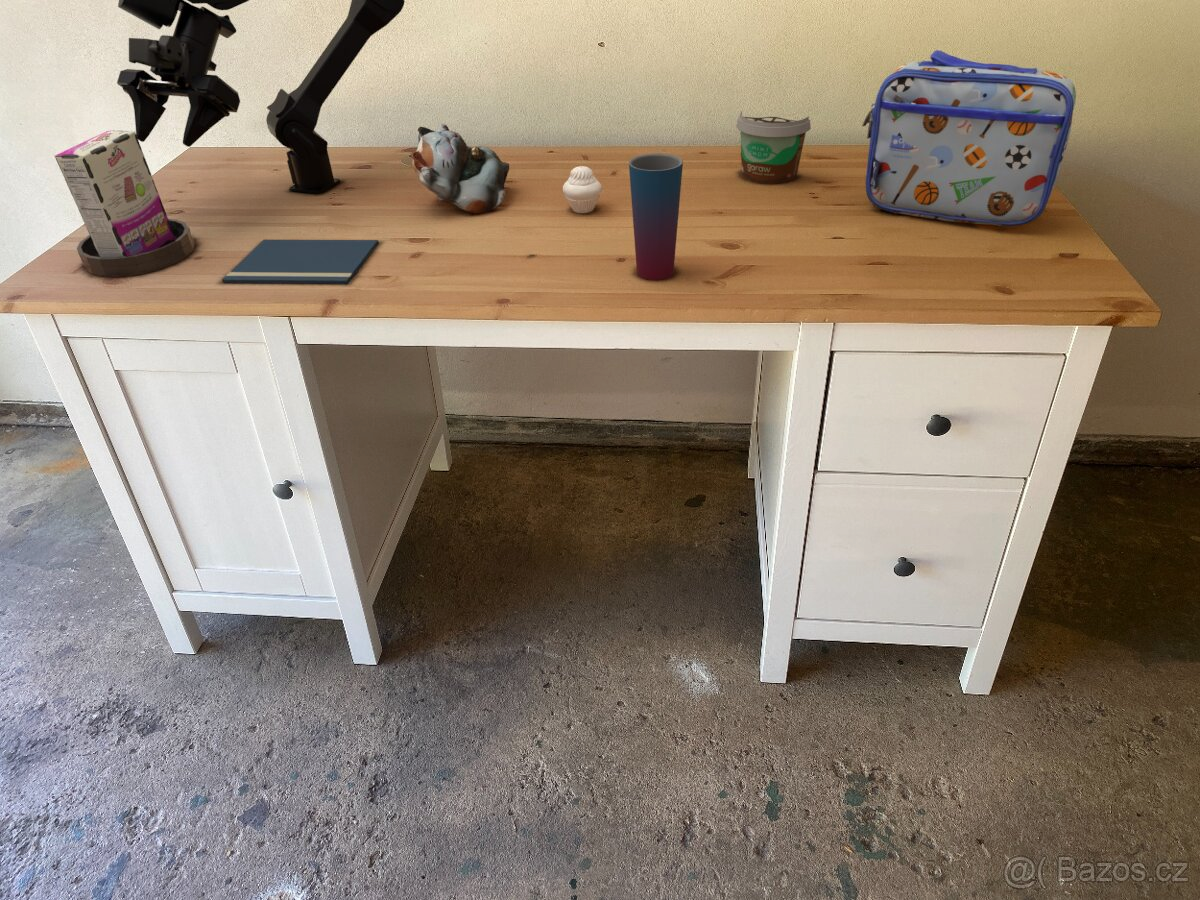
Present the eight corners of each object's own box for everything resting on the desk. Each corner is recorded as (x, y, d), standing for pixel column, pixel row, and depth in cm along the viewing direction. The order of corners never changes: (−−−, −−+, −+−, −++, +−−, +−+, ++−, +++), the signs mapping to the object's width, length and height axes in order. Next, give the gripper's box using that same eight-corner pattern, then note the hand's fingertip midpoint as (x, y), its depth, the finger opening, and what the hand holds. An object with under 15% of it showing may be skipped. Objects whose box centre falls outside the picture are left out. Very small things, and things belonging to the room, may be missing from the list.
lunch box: (845, 211, 128) (867, 57, 115) (862, 190, 135) (885, 42, 122) (1039, 239, 117) (1088, 72, 104) (1046, 214, 124) (1093, 55, 111)
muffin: (572, 201, 136) (569, 158, 132) (607, 204, 134) (606, 161, 130) (558, 215, 131) (555, 170, 127) (594, 218, 130) (592, 174, 126)
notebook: (378, 242, 125) (377, 239, 125) (347, 283, 114) (346, 280, 114) (264, 242, 127) (263, 239, 127) (222, 282, 116) (221, 279, 116)
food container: (725, 182, 141) (728, 120, 135) (734, 170, 145) (738, 110, 139) (798, 189, 137) (804, 126, 131) (805, 177, 141) (812, 115, 135)
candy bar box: (148, 237, 129) (107, 129, 120) (177, 239, 128) (137, 130, 119) (100, 268, 121) (51, 153, 111) (130, 270, 120) (84, 154, 110)
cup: (627, 263, 116) (625, 154, 107) (675, 260, 116) (678, 151, 107) (633, 284, 111) (631, 172, 102) (684, 281, 111) (687, 168, 102)
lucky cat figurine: (498, 217, 131) (445, 145, 122) (440, 239, 137) (385, 172, 128) (520, 160, 140) (472, 89, 131) (464, 183, 146) (414, 116, 137)
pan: (216, 241, 128) (210, 223, 126) (141, 282, 117) (133, 264, 115) (140, 230, 133) (133, 213, 131) (61, 270, 121) (52, 252, 120)
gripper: (102, 9, 121) (69, 109, 120) (199, 13, 115) (167, 118, 114) (162, 56, 132) (133, 148, 130) (255, 62, 126) (225, 158, 124)
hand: (162, 142), depth 124 cm, fingers open, 9 cm apart
